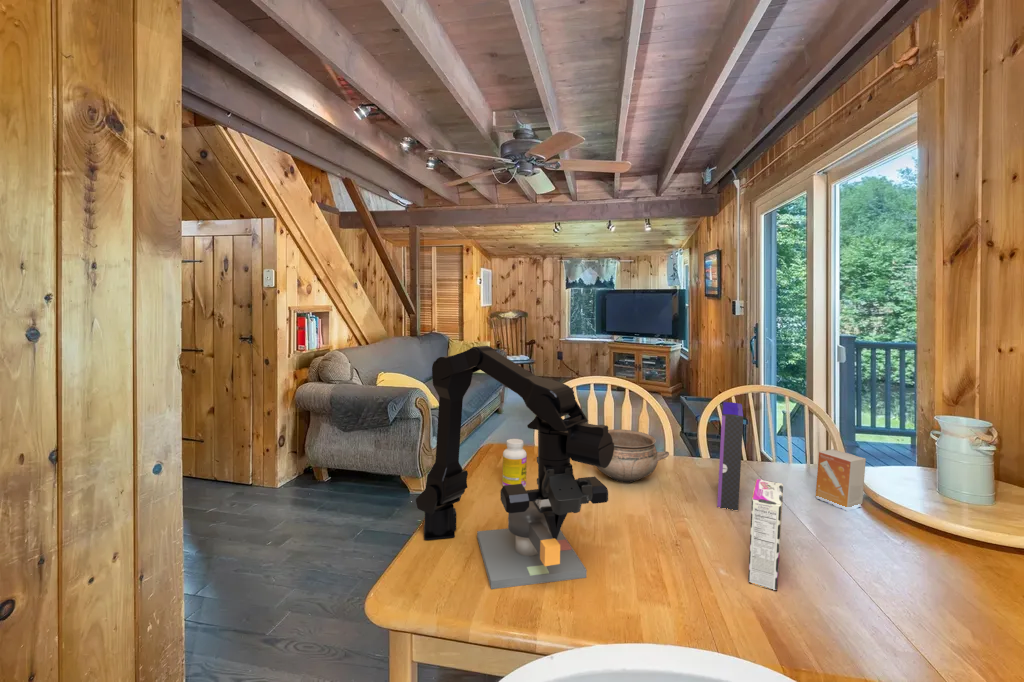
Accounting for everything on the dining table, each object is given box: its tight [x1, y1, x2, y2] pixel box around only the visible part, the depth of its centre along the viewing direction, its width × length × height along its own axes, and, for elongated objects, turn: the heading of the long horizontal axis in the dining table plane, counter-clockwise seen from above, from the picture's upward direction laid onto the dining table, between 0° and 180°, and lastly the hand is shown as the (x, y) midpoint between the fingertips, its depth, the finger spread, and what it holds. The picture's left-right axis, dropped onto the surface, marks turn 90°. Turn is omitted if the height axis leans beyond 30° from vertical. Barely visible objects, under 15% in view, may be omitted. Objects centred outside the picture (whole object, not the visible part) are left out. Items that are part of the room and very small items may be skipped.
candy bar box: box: [747, 478, 784, 591], centre depth 86 cm, size 11×5×16 cm, turn 148°
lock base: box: [476, 527, 588, 590], centre depth 91 cm, size 18×18×6 cm
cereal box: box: [716, 401, 744, 511], centre depth 120 cm, size 17×5×24 cm, turn 154°
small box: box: [815, 449, 867, 507], centre depth 117 cm, size 8×6×13 cm
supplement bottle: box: [502, 438, 528, 488], centre depth 126 cm, size 7×7×13 cm
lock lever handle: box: [507, 501, 560, 566], centre depth 86 cm, size 17×8×4 cm, turn 16°
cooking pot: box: [595, 428, 670, 484], centre depth 133 cm, size 25×19×12 cm
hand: (554, 539), depth 82 cm, fingers closed
